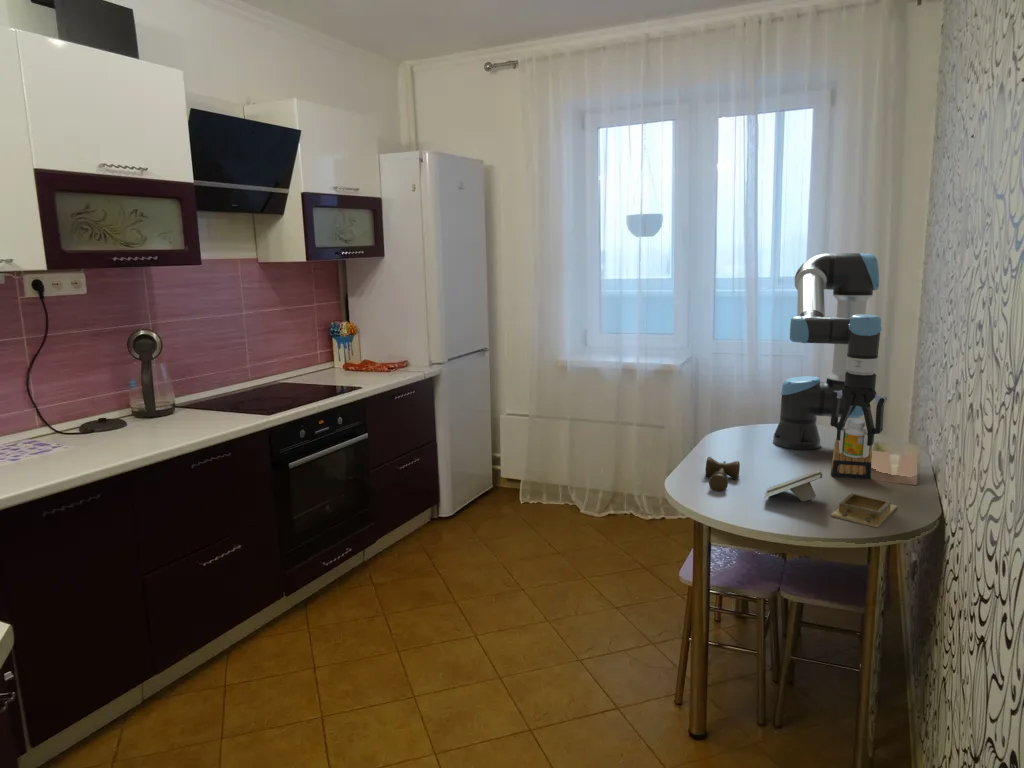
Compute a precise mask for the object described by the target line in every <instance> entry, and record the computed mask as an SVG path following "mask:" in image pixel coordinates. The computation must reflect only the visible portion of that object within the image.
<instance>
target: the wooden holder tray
mask: <svg viewBox="0 0 1024 768" xmlns="http://www.w3.org/2000/svg"><path fill="white" fill-rule="evenodd" d="M891 503H892V502H891V501H889V500H885V499H880V498H875V497H871V496H866V495H861V494H857V493H853V492H851V493H850V494H849V495H848V496H846V497H845V498H844V499H843V500H842V501H840V502H839V505H838V508H836V509H835V510H834V511H833V512H832V513H831V514H830V517H831V518H837V519H840V520H845V521H847V522H853V523H857V524H861V525H865V526H870V527H873V528H879V527H880V526H881V525H882V524H883V523H884V522H885V521H886V519H887V518H889V517H890V515H892V514H893V513H894V512H895V511H896V509H897V508H898V505H897V504H891ZM887 520H888V519H887Z"/></svg>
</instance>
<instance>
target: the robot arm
mask: <svg viewBox="0 0 1024 768" xmlns="http://www.w3.org/2000/svg"><path fill="white" fill-rule="evenodd" d="M877 258H878V257H877V256H876V255H875V254H873V253H865V252H864V253H863V252H857V253H856V252H855V253H848V252H847V253H843V252H842V253H821V254H818V255H817V254H816V255H815V256H813V257H811V258H808V259H807V260H806V261H805V262H804V263H802V264H801V265H800V267H799V268H798V269H797V271H796V272H795V275H794V287H795V289H796V291H797V315H796V316H792V317H791V318H790V326H789V340H790V341H791V342H792V343H800V344H831V345H833V344H834V345H833V357H832V369H831V370H832V371H831V372H830V373H829V374H828V375H826V380H825V381H821V380H820V378H819V377H818V376H813V375H804V376H795V377H790V378H787V379H785V380H784V381H783V382H782V387H781V391H780V394H781V398H780V399H781V400H780V401H781V402H780V412H779V414H780V416H779V422H778V425H777V427H776V429H775V431H774V434H773V440H772V443H773V444H775V445H776V446H778V447H781V448H785V449H790V450H791V449H792V450H798V451H799V450H801V451H802V450H803V451H804V450H805V451H807V450H808V451H809V450H814V449H815V450H816V449H818V448H820V447H821V436H820V433H819V429H818V425H817V418H818V417H830V424H829V425H830V426H831V427H834V428H836V438H837V440H839V454H840V453H843V449H844V438H845V430H846V428H845V427H846V424H847V421H848V420H849V419H860V418H861V417H864V422H865V427H866V432H867V433H866V434H864V445H863V456H862V457H864V458H866V457H867V456H868V454H869V446H872V447H873V446H874V442H875V435H876V434H880V433H882V432H883V429H884V427H883V425H884V415H885V414H884V410H885V404H886V402H887V400H888V398H887V397H886V396H881V395H878V394H877V391H876V384H877V383H876V381H877V374H876V372H877V371H878V362H879V361H878V360H879V359H878V358H879V350H880V349H879V347H880V338H881V331H882V318H881V316H879V315H876V314H867V303H868V302H867V301H869V299H870V298H871V297H873V293H874V291H877V290H878V289H879V288H880V272H879V271H880V270H879V269H880V268H879V262H878V259H877ZM825 290H832V292H833V293H832V296H833V297H834V298H835V299H836V301H837V305H836V317H835V316H834V317H832V316H830V317H829V316H826V312H825V311H826V310H825V309H826V308H825ZM873 400H875V403H876V408H875V409H876V410H875V422H874V419H873V414H872V410H871V409H872V408H871V407H872V406H871V403H872V401H873ZM874 423H875V424H874Z"/></svg>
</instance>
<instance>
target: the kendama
mask: <svg viewBox="0 0 1024 768" xmlns="http://www.w3.org/2000/svg"><path fill="white" fill-rule="evenodd" d="M740 466H741V463H740V461H739V460H735V461H731V462H726V461H722V462H720V461H717V460H716V459H714V458H712V457H711V456H708V457H707V458H706V463H705V476H706V477H710V478H709V480H708V485H709V488H710V489H711V490H712V491H713V492H725V491H726V490H727V488H728V481H729V477H730V478H731V479H734V480H736V481H737V480H738V479H739V476H740V469H741V467H740Z"/></svg>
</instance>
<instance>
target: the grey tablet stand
mask: <svg viewBox="0 0 1024 768" xmlns="http://www.w3.org/2000/svg"><path fill="white" fill-rule="evenodd" d="M822 478H823V474H822V468H821V469H818V470H814V471H811V472H809V473H805V474H804V475H800V476H798V477H795V478H792V479H790V480H787V481H784V482H783V481H782V482H781V483H777V484H775V485H773V486H769V487H767V489H766V492H767V493H765V495H764V497H763V499H767V498H768V497H769V498H770V497H771V496H774V495H778V494H781V493H784V492H787V491H789V490H790V492H792V493H793V494H794V495H795V496H796V497H797V498H798V499H799V501H800V502H805V501H808V500H812V499H814V498H816V497H817V495H816V493H815V491H814V488H813V486H812V484H811V482H814V481H817V480H819V479H822Z"/></svg>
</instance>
